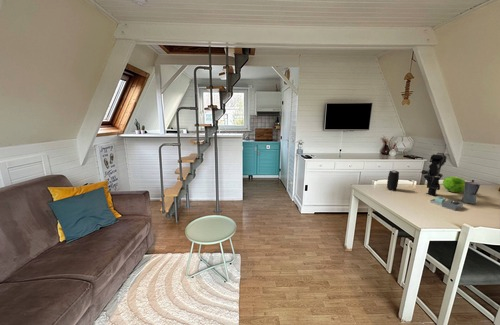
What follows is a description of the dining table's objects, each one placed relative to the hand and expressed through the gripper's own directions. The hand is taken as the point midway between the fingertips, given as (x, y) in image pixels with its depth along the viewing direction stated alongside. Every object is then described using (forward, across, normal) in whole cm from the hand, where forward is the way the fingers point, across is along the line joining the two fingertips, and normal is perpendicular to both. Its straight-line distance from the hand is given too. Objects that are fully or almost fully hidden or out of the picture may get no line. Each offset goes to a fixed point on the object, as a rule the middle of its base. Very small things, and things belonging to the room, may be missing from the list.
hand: (431, 185), depth 184 cm
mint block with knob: (+12, +9, +11) cm, 19 cm away
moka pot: (+12, -17, +21) cm, 30 cm away
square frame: (+12, +9, +15) cm, 21 cm away
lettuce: (+12, -42, +2) cm, 44 cm away
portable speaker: (+12, +9, -28) cm, 32 cm away
